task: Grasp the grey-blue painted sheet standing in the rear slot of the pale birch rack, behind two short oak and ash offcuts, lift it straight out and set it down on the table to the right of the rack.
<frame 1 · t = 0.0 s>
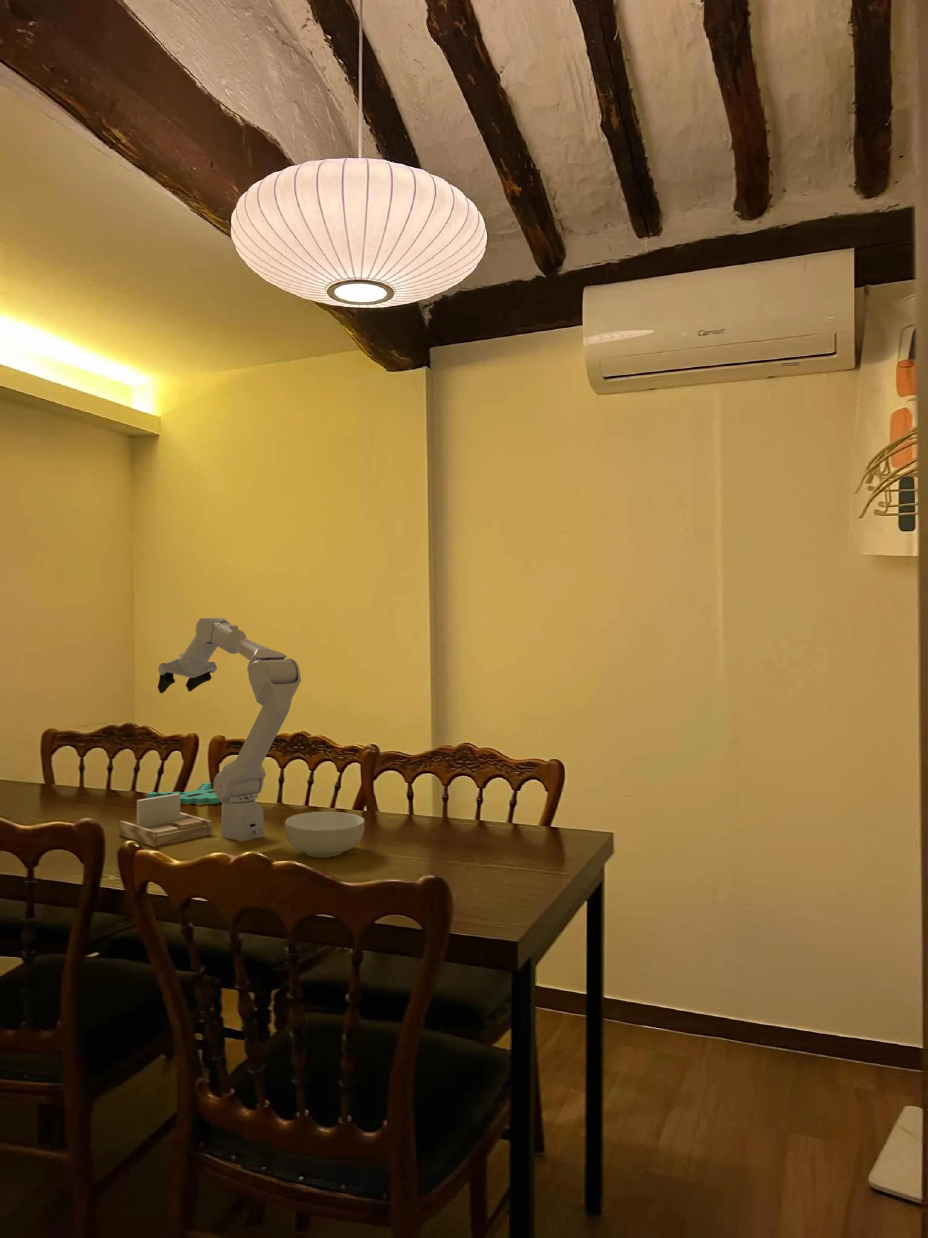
hand: (174, 689, 208), 32 cm above the table, tool tilted 50°, fingers open, 7 cm apart
cereal bowl: (324, 853, 179), on the table
sheet: (158, 832, 191), point 1 cm above the table, touching rack
ash offcut: (162, 840, 185), point 1 cm above the table, touching rack
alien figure: (199, 801, 233), on the table
oak offcut: (187, 835, 189), point 1 cm above the table, touching rack
rack: (165, 839, 189), on the table
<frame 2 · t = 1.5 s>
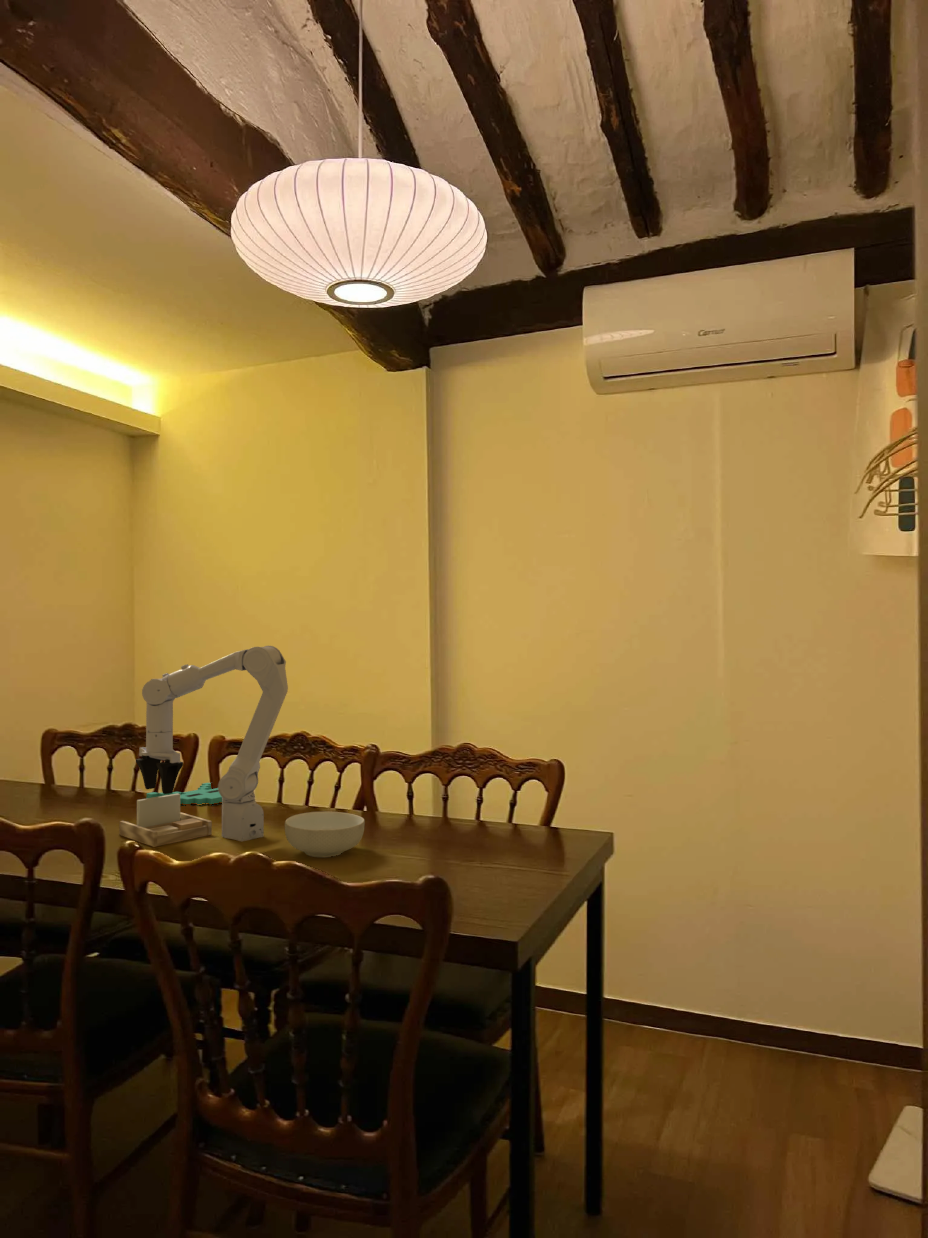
hand: (159, 791, 191), 10 cm above the table, tool pointing down, fingers open, 7 cm apart
nothing on the table moved.
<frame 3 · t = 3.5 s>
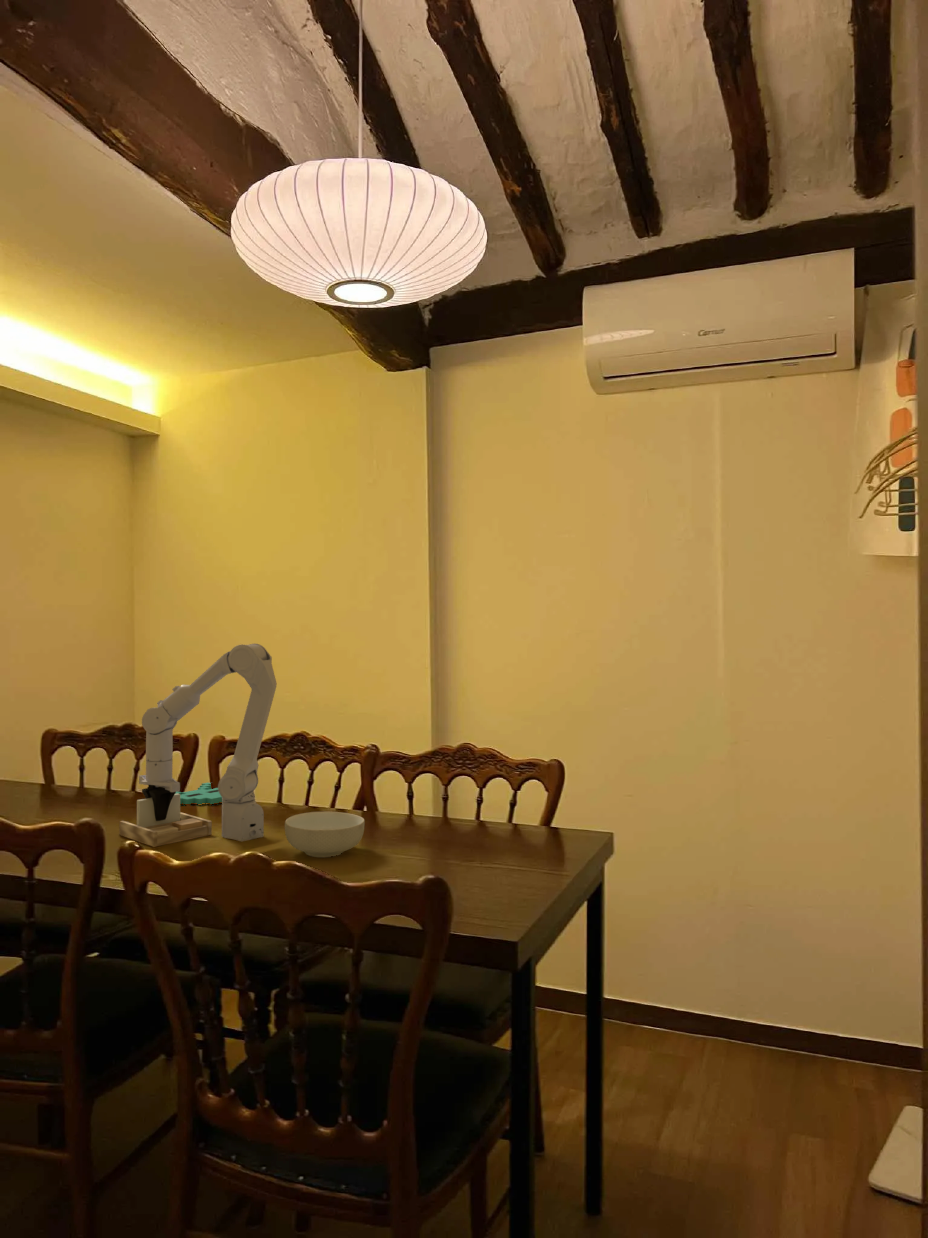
hand: (158, 819, 191), 4 cm above the table, tool pointing down, fingers closed on sheet
sheet: (158, 832, 191), point 1 cm above the table, touching gripper, rack
everything else where it was.
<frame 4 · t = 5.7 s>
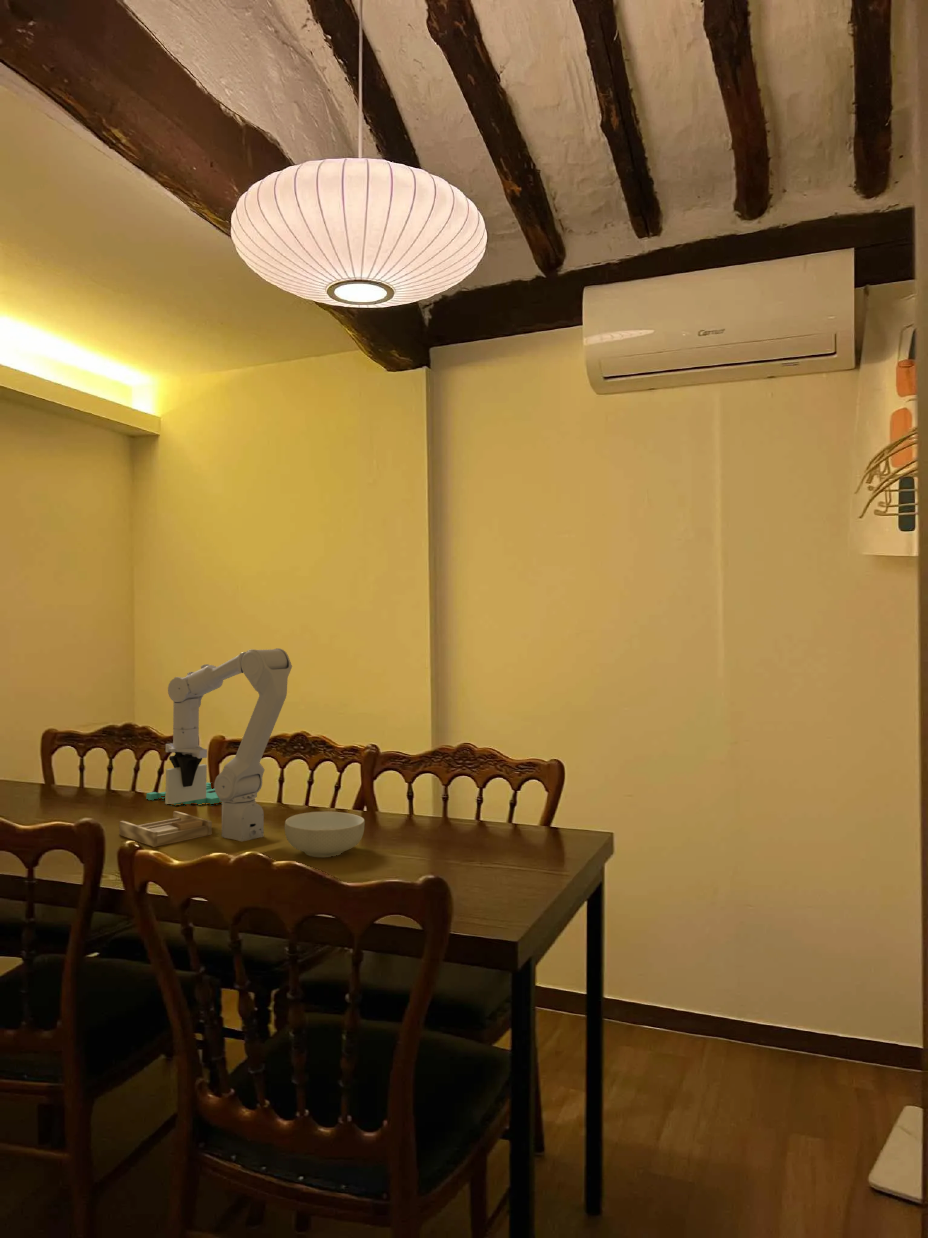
hand: (185, 785, 198), 10 cm above the table, tool pointing down, fingers closed on sheet
sheet: (186, 801, 198), point 7 cm above the table, touching gripper
everything else where it was.
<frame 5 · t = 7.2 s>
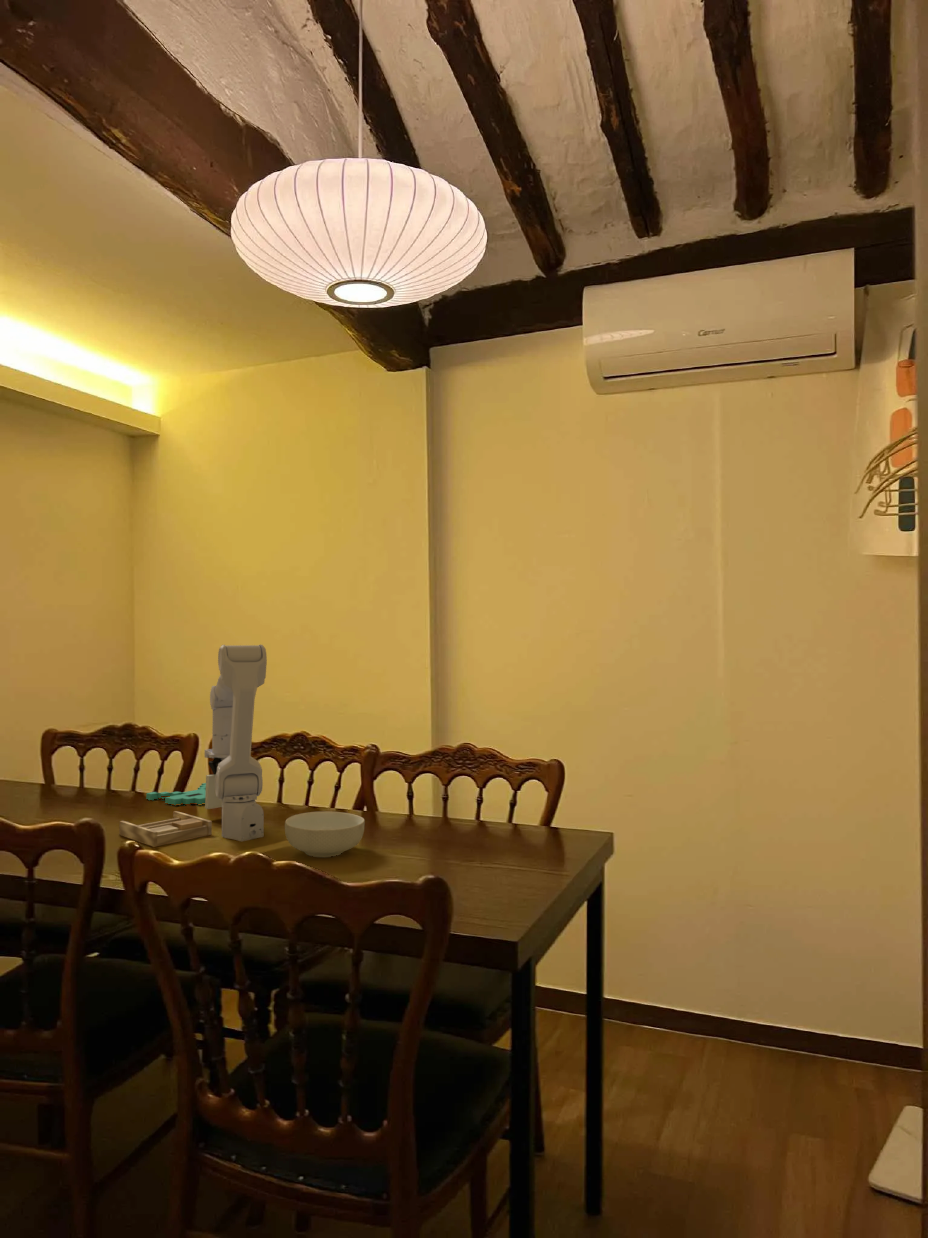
hand: (223, 789, 208), 8 cm above the table, tool pointing down, fingers closed on sheet
sheet: (224, 806, 208), point 3 cm above the table, touching gripper
everything else where it was.
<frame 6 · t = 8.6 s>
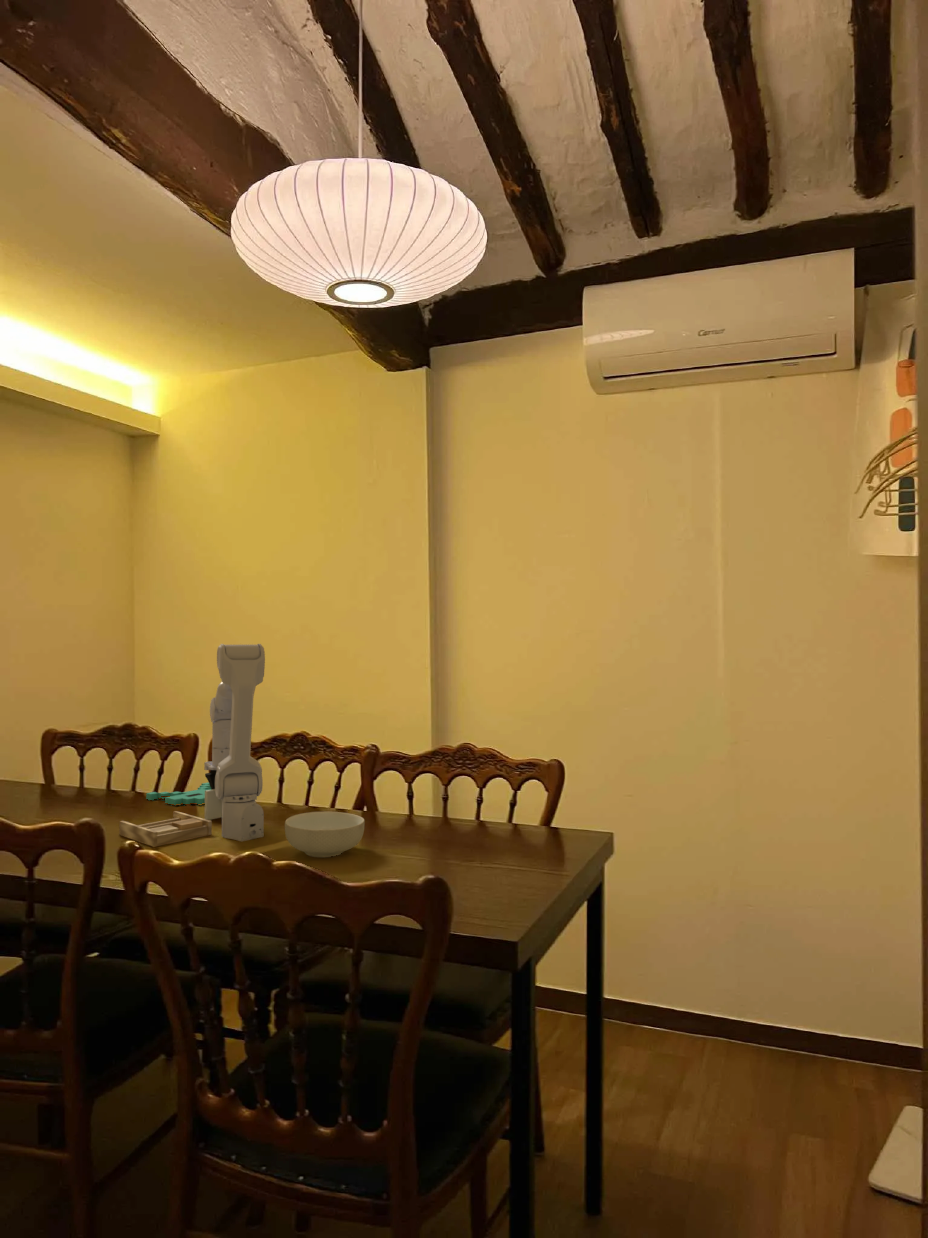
hand: (223, 802, 208), 4 cm above the table, tool pointing down, fingers open, 4 cm apart
sheet: (223, 820, 208), on the table
everything else where it was.
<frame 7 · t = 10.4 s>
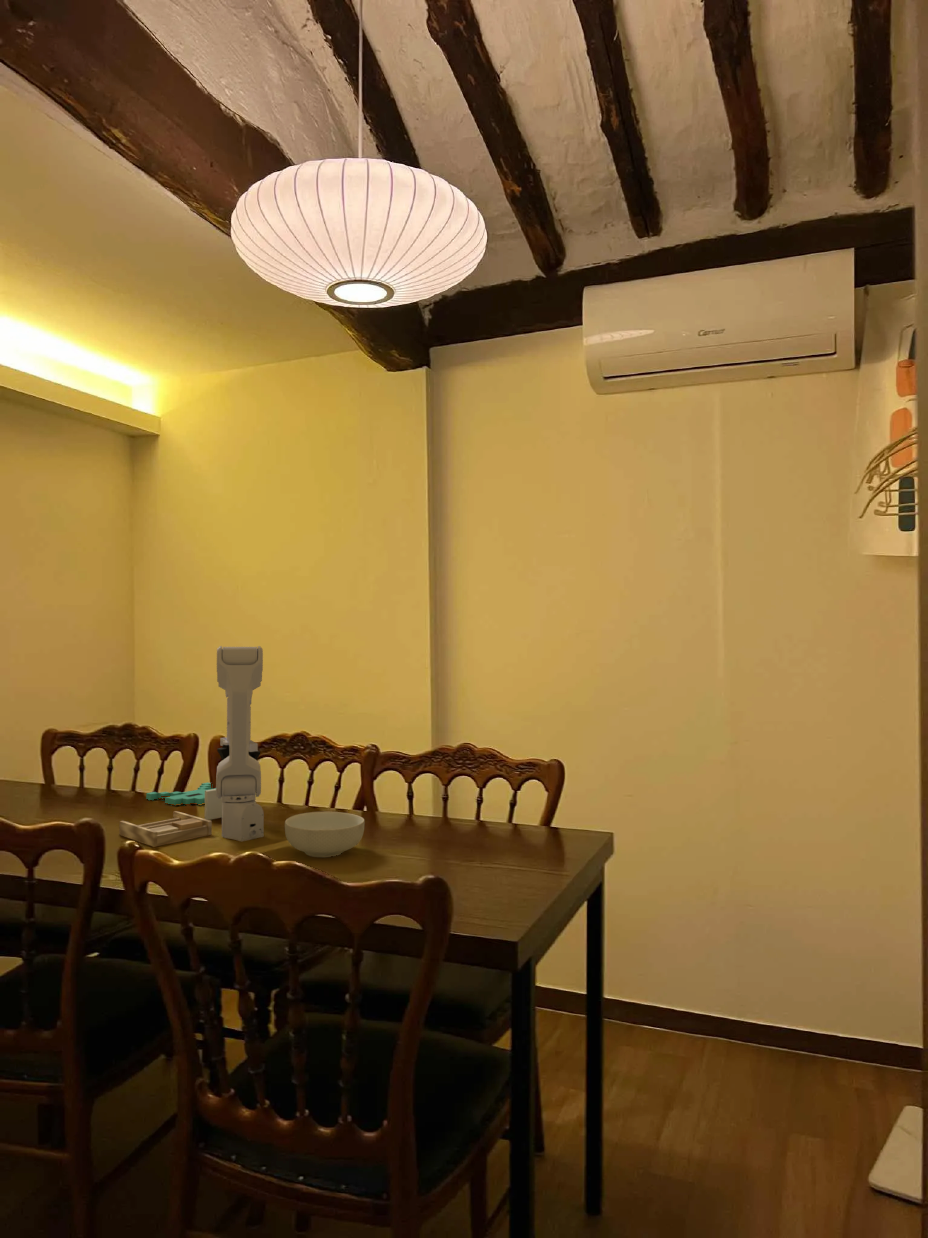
hand: (238, 777, 208), 10 cm above the table, tool pointing down, fingers open, 7 cm apart
nothing on the table moved.
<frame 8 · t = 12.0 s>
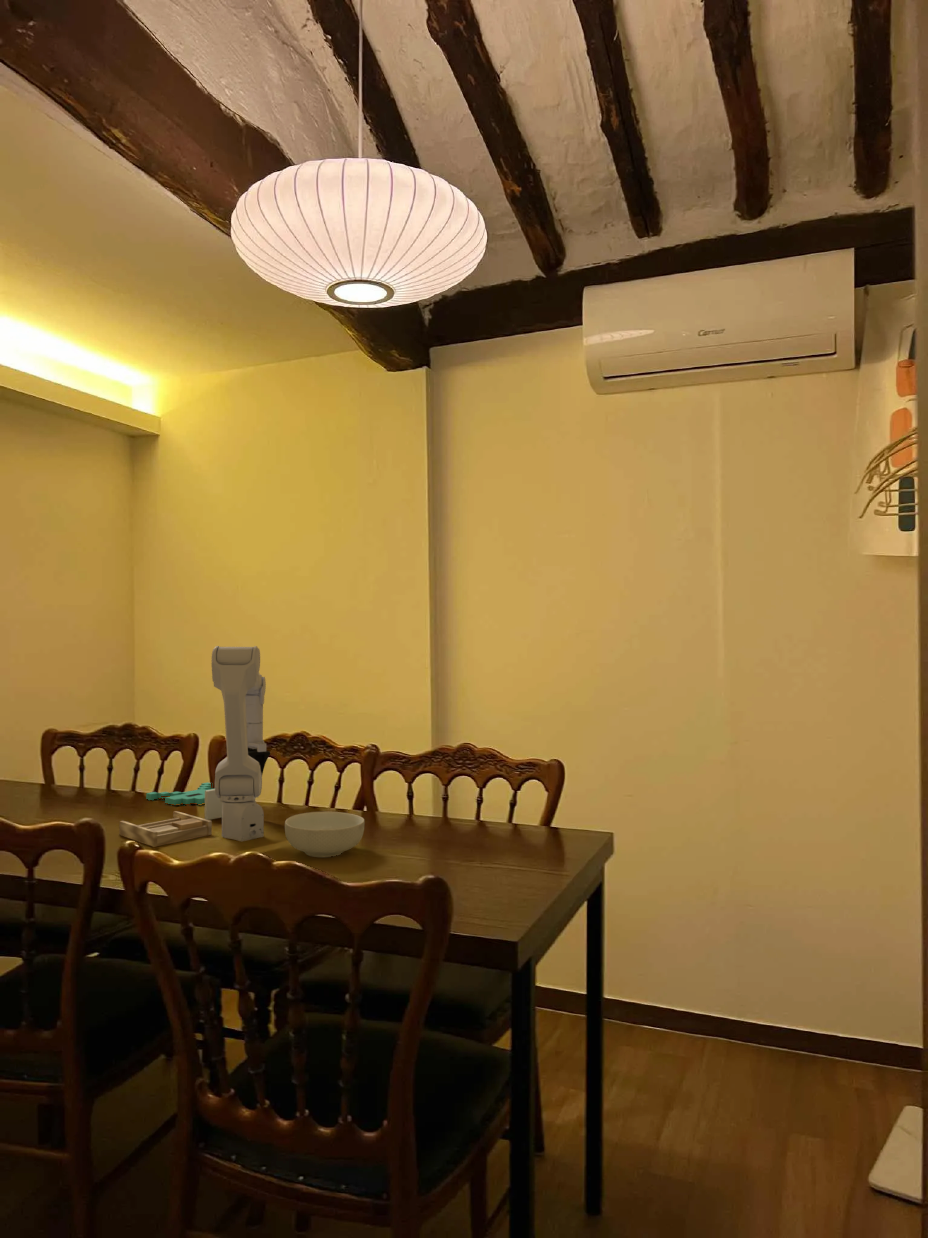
hand: (250, 777, 209), 10 cm above the table, tool pointing down, fingers open, 7 cm apart
nothing on the table moved.
at the end: sheet inside the target area (0.7 cm from its centre), on the table; sheet touching table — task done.
